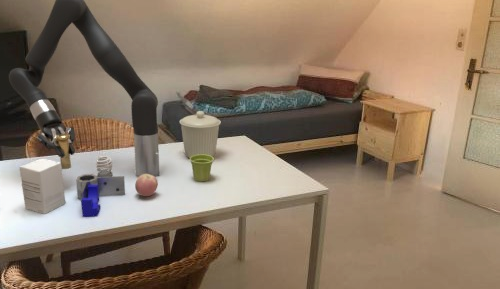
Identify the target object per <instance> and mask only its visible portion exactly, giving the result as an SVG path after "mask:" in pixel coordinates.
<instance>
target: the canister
mask: <svg viewBox="0 0 500 289" xmlns="http://www.w3.org/2000/svg"><path fill="white" fill-rule="evenodd" d="M221 122H222V121H221V120H220V119H218V118H217V117H216V116H213V115H209V114H205V112H204V111H202V110H198V111H196V113H195V114H193V115H187V116H185V117H183V118H181V119H179V124H180V128H181V135H182V142H183V150H184V154H185V155H186V157H187V158H189V159H190V157H191V156H194V155H199V154H204V155H210V156H212V157H213V158H214V156H215V153H216V150H217V145H218V139H219V138H218V136H219V130H220V129H219V126H220V125H221Z"/></svg>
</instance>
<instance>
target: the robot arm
mask: <svg viewBox="0 0 500 289" xmlns="http://www.w3.org/2000/svg"><path fill="white" fill-rule="evenodd" d="M71 24H72V25H73V26H74V27H75V28H76V29H77V30H78V31H79V32H80V34H81V35H82V36H83V38H84V40H85V42H86V44H87V47H88V49H89V51H90V53H91V54H92V56H93V58H94V59H95V61H96V62H97V63H98V65H99V66H100V67H101V68H102V70H103V71H104V72H105V73H106V74H107V75H108V76H109V77H111V78H112V79H113V80H114V81H116V82H117V83H118V84H119V85H120V86H121V87H122V88H123V89H124V91H126V93H127V94H128V95H129V97H130V100H132V101H131V106H130V107H131V123H132V129H133V146H134V147H133V148H134V162H135V165H134V166H135V169H134V170H135V175H136V176H137V177H139V176H140V175H142V174H150V175H153V176H154V177H157V176H160V156H159V155H160V154H159V149H160V148H159V126H158V117H157V116H158V115H157V114H158V113H157V109H158V105H159V101H158V97H157V96H156V94H155V93H154V92H153V91H152V90H151V88H150V87H149V86H148V85H147V84H146V83H145V82H144V81H143V80H142V79H141V77H140V76H139V75H138V73H137V72H136V71H135V69H134V67H133V66H132V65H131V63H130V62H129V60H128V59H127V58H126V56H125V54H124V53H123V52H122V50H121V49H120V48H119V46H118V45H117V44H116V43H115V41H114V39H112V38H111V37H110V35H109V34H108V33H107V32H106V30H104V29H103V27H102V26H101V24H100V23H99V22H98V21H97V19H96V18H95V16H94V14H93V13H92V11H91V10H90V8H89V6H88V5H87V3H86V2H85V0H55V1H54V4H53V6H52V9H51V11H50V14H49V16H48V19H47V20H46V23H45V25H44V27H43V29H42V30H41V32H40V33H39V35H38V37H37V38H36V39H35V42H34V43H33V45H32V47H31V48H30V50H28V53H27V54H26V56H25V63H26V64H27V65H28V66H29V69H24V68H22V67H15V68H13V69H10V71H9V73H8V81H9V83H10V85H11V87H12V88H13V90H14V91H15V92H16V93H17V94H18V95H19V96H20V97H21V98H22V99H23V100H24V101H25V103H26V104H27V107H28V108H29V110H30V112H31V115H32V117H33V119H34V120H35V122H36V124H37V126H38V128H39V129H40V130H41V133H38V135H37V136H36V140H37V141H38V142H39V143H40V144H41V145H43V147H45V148H46V149H48V150H54V151H55V153H56V155H57V157H59V158H60V157H61V158H63V157H64V156H65V154H64V152H63V150H62V148H61V147H60V146H59V142H58V140H57V139H56V135H58V134H63V133H66V134H70V138H69V139H68V142H69V151H70V156H73V155H75V152H76V149H75V147H74V145H73V144H74V142H75V140H76V136H75V128H74V126H70V127H67V126H66V125H64V124H63V122H62V119H61V117H60V116H59V114H58V112H57V111H56V109H55V107H54V105H53V104H52V102H50V100H49V97H48V96H47V95H46V93H45V92H44V90H42V89H41V88H40V87H39V86H40V85H41V83H42V80H43V77H44V73H45V69H46V67H47V65H48V63H49V62H50V61H51V59H52V57H53V56H54V55H55V53H56V50H57V48H58V45H59V43H60V40H61V38H62V36H63V34H64V33H65V31H66V30H67V29H68V28H69V26H70V25H71Z"/></svg>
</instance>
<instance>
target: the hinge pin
mask: <svg viewBox="0 0 500 289" xmlns="http://www.w3.org/2000/svg"><path fill="white" fill-rule="evenodd" d="M69 138H70V134H67V132H65V133H63V134H58V135H56V139H57V140H58V143H59V146H60V147H61V148H62V150H63V152H64V154H65V156H64V157H63V158H61V157H59V158H60V163H61V169H63V170H67V169H71V168H72V164H71V155H70V151H69V142H68V139H69Z"/></svg>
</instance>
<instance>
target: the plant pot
mask: <svg viewBox="0 0 500 289" xmlns="http://www.w3.org/2000/svg"><path fill="white" fill-rule="evenodd" d="M214 160H215V159H214V156H213V157H212V156H210V155H204V154H199V155H194V156H191V157H190V158H189V161H190V164H191V168H192V175H193V180H194V181H196V182H199V183H201V182H208V181H209V180H210V176H211V170H212V164H213V162H214Z"/></svg>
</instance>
